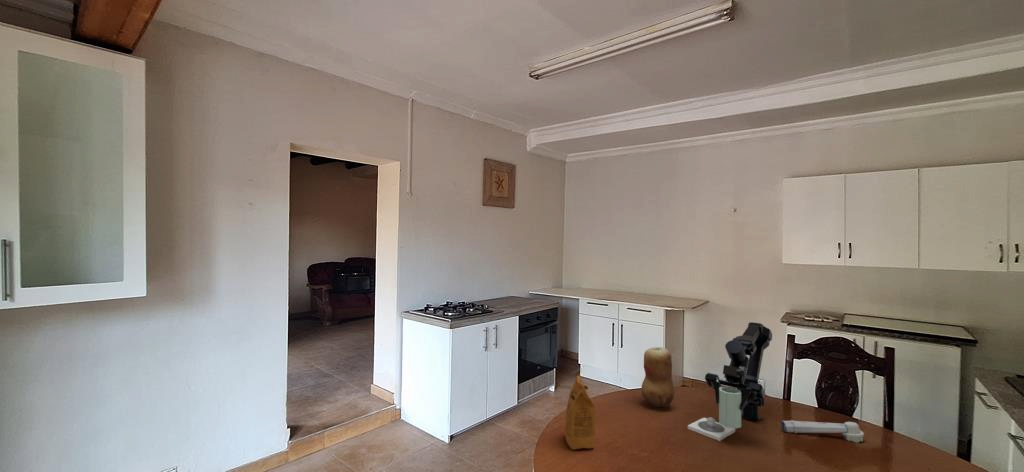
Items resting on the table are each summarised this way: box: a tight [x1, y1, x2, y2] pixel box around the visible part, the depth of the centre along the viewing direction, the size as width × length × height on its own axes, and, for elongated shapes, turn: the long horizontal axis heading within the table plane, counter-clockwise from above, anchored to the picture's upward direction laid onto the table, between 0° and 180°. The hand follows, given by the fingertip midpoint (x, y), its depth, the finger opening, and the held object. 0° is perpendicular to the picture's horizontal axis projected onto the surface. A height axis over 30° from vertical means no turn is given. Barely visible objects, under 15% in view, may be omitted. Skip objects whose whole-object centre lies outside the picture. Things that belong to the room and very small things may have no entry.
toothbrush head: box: [780, 419, 865, 443], centre depth 151 cm, size 5×7×25 cm
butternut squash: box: [640, 346, 676, 408], centre depth 177 cm, size 14×13×25 cm
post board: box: [687, 416, 736, 442], centre depth 155 cm, size 12×12×5 cm
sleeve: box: [718, 386, 742, 430], centre depth 147 cm, size 7×7×12 cm
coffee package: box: [564, 375, 597, 450], centre depth 144 cm, size 10×12×22 cm
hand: (728, 406), depth 146 cm, fingers closed on sleeve, 7 cm apart
